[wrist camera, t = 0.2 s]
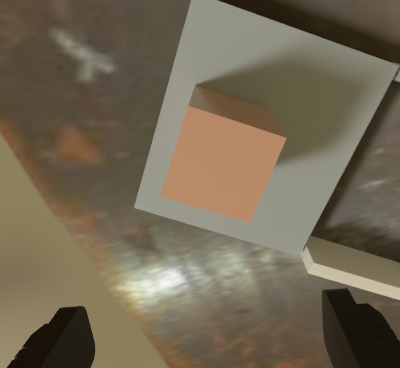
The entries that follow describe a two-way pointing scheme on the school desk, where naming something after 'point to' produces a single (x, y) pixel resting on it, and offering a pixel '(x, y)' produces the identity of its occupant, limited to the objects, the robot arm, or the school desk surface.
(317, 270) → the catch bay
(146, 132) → the school desk surface
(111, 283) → the school desk surface
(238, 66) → the far plate
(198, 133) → the tile block
